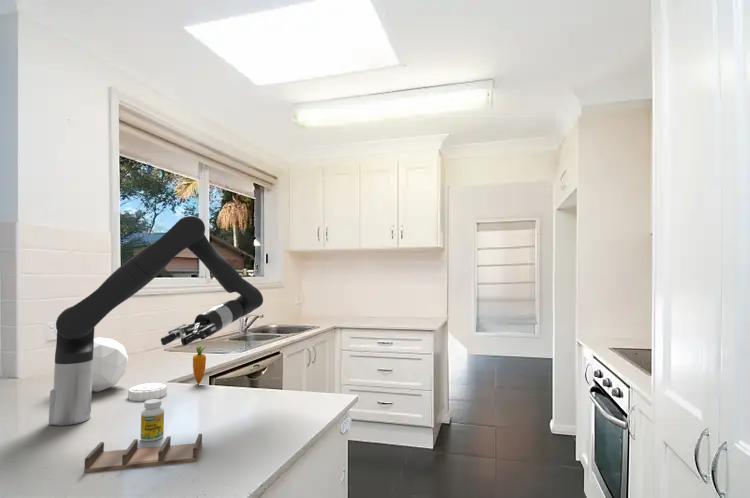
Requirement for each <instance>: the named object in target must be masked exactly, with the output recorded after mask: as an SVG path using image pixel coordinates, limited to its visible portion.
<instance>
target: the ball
mask: <svg viewBox="0 0 750 498" xmlns="http://www.w3.org/2000/svg"><path fill="white" fill-rule="evenodd" d="M129 361H130V360H129V356H128V353H127V350H126V347H125V346H124V345H123V344H122V343H120V342H119V341H117V340H115V339H112V338H108V337H96V338H95V337H94V350H93V371H92V392H101V391H103V390H106V389H109V388H111V387H114V386H116V385H117V384H118V383H119V381H120V380H121V379H122V378H123V376H124V375H125V374H126V371H127V368H128V365H129Z"/></svg>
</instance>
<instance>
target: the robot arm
mask: <svg viewBox="0 0 750 498" xmlns="http://www.w3.org/2000/svg"><path fill="white" fill-rule="evenodd" d="M205 233H206V225H205V223H204V220H203V219H201V218H200V217H198V216H197V215H185V216H183V217H181V218H179V219H178V221H176V222H175V224H173V226H172V227H171V228H169V230H167V231H166V233H164V235H162V236H161V237H160V238H159V239H157V240H156V241H154V242H153V243H151V244H150V245H148V246H146V247H145V248H144V249H142V250H141V251H139V252H138V253H137V254H135V255H133V256H132V257H131V258H129V259H128V260H127V261H126V262H125V263H123V264H122V265H120V267H117V269H115V271H113V273H111V274H110V275H109V276H108V278H106V279H105V280H104V281H103V282H102V284H100V286H99V287H98V288H97V289H95V290H94V291H93V292H92V293H91V294H89V295H88V296H86V297H85V298H83V299H82V300H81V301H79V302H78V303H76V304H74V305H73V306H70V307H67V308H66V309H64V310H63V311H62V312H61V313H60V314H59V315H58V317H57V318H56V320H55V321H56V322H55V328H56V341H55V342H56V343H55V351H54V352H55V354H54V369H53V370H54V375H53V389H51V390H50V391H49V404H48V405H49V406H48V408H49V409H48V410H49V411H48V425H52V426H53V425H54V426H69V425H75V424H80V423H83V422H85V421H88V420H90V418H91V413H92V392H93V391H92V371H93V350H94V339H95V327H96V326H97V325H98V324H100V322H101V321H103V319H104V318H105V317H106V316H108V314H110V312H112V311H113V310H114V309H115V308H117V307H118V306H120V305H121V304H122V303H124V302H126V301H127V300H128V299H130V298H131V297H132V296H134V295H135V294H137V293H138V292H139V291H140V290H142V289H144V287H146V286H147V285H148V284H149V283H151V282H152V281H153V280H154V279H155V278H156V277H157V276H158V275H160V274H161V272H162V271H163V270H165V268H166V267H167V266H168V265H169V264H170V262H171V261H172V260H174V258H175V257H176V256H177V255H179V254H180V253H182V252H183V251H184V250H186V249H188V250H189V251H190V252H192V254H194V256H195V257H197V258H198V260H200V261H201V262H202V264H203V265H204V266H205V267H206V269H207V270H208V271H209V272H210V273H211V275H212V276H213V277H214V278H215V280H217V282H218V283H219V285H220V286H221V287H222V288H223V289H224V290H225V292H227V293H228V294H233V293H237V294H239V296H237V297H235V298H234V299H231V300H228V301H226V302H223V303H221V304H219V305H216V306H214V307H211V308H210V309H207V310H206V311H203V312H201V313H199V314H198V315H196V317H195V319H194V321H193V322H191V323H188V324H186V323H183V324H180V325H179V326H177V327H175V328H173V329H170V330H168V331H167V333H168V334H167V335H165V336H163V337H161V338H160V343H161V345H162V346H166V345H169V344H170V343H172V342H173V341H174V342H175V341H176V340H179V339H180V342H181V345H182V346H187V345H189V344H191V343H192V342H194V341H199V340H202V341H203V340H205V339H206V338H209V337H211V336H213V335H214V334H216V333H218V332H220V331H221V330H223V329H225V328H226V327H228V326H230V325H231V324H232V323H234V322H236V321H238V319H240V318H242V317H244V316H247V315H249V314H250V313H251V312H253V311H255V310H257V309H258V308H260V307H261V306H262V305H263V302H264V296H263V294H262V293H261V291H260V290H259V289H258V288H257V287H256V286H254V285H253V284H252V283H250V282H249V281H247V280H246V279H244V278H243V277H242V275H240V273H239V272H238V271H237V270H236V268H235V267H234V266H233V265H232V264H231V263H230V262H229V261H228V260H227V259H226V258H225V257H224V256H222V255H221V254H220V253H219V252H218V250H217V249H216V248H215V247H214V246H213V245H212V244H211V243H210V241H209V239H208V238H207V236H206V234H205Z"/></svg>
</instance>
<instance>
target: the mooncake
mask: <svg viewBox="0 0 750 498" xmlns="http://www.w3.org/2000/svg"><path fill="white" fill-rule="evenodd" d="M167 387H168V386H167V385H166V384H165V383H161V382H150V383H149V382H148V383H142V384H137V385H134V386H131V387H130V388H128V393H127V399H128V400H130V401H132V402H133V401H134V402H141V401H142V402H143V401H144V402H145V401H147V400H152V399H160V398H163V397H165V396H166V395H167V393H168V391H167V390H168V388H167Z"/></svg>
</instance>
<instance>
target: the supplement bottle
mask: <svg viewBox="0 0 750 498" xmlns="http://www.w3.org/2000/svg"><path fill="white" fill-rule="evenodd" d="M143 403H144V404H143V406H144V409H143V410H142V411H141V413H140V414H141V415H140V440H141V442H142V441H143V442H146V443H147V442H155V441H158V440H160V439H162V438H163V437H164V433H165V432H164V427H165V425H164V424H165V423H164V422H165V409H164V407H162V399H160V398H158V399H152V400H147V401H144V402H143Z"/></svg>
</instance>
